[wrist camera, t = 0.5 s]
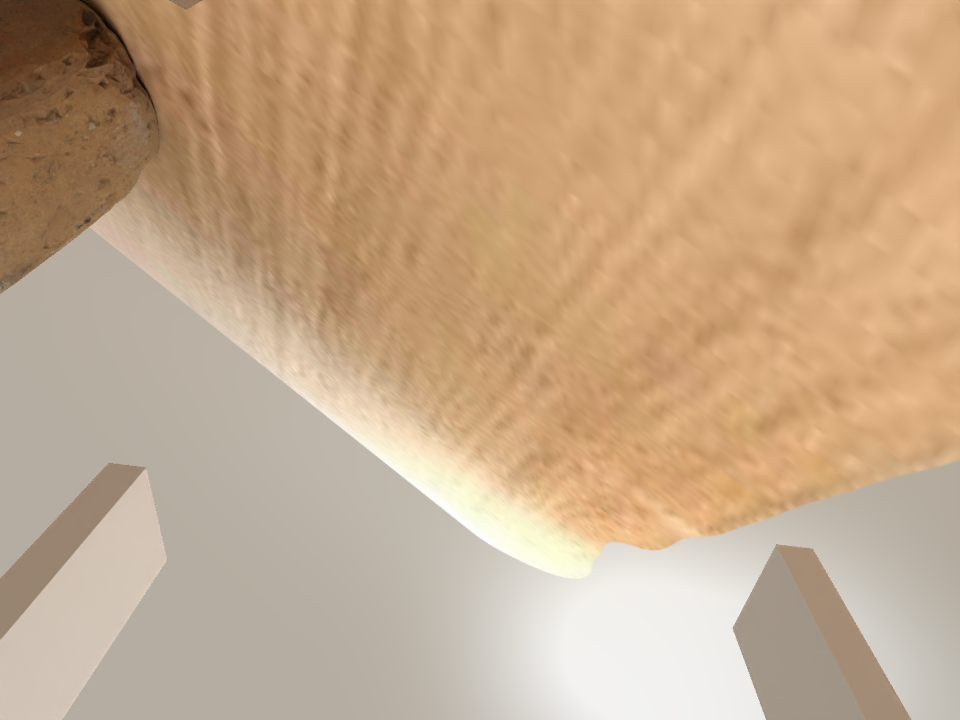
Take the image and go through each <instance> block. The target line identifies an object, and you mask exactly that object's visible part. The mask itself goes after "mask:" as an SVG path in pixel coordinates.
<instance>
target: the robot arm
mask: <svg viewBox="0 0 960 720" xmlns="http://www.w3.org/2000/svg"><path fill="white" fill-rule="evenodd" d="M166 561H167V558H166V553H165V549H164V545H163V540H162V536H161V531H160V527H159V522H158V518H157V514H156V509H155V504H154V500H153V496H152V491H151V487H150V482H149V478H148V473H147V469H146V467H137V466H129V465H121V464H113V463H109V464H108V465H107V466H106V467H105V468H104V469H103V470H102V471H101V472H100V473H99V474H98V475H97V476H96V477H95V478H94V479H93V481H92V482H91V483H90V484H89V485H88V486H87V487H86V488H85V489H84V490H83V491H82V492H81V493H80V495H79V496H77V498H76V499H75V500H74V501H73V502H72V503H71V504H70V505H69V506H68V507H67V508H66V509H65V510H64V511H63V513H62V514H61V515H60V516H59V517H58V518H57V519H56V520H55V521H54V522H53V523H52V524H51V525H50V526H49V527H48V528H47V530H46V531H45V532H44V533H43V534H42V535H41V536H40V537H39V538H38V539H37V540H36V541H35V542H34V543H33V544H32V545H31V547H30V548H29V549H28V550H27V551H26V552H25V553H24V554H23V555H22V556H21V557H20V558H19V559H18V560H17V561H16V563H15V564H14V565H13V566H12V567H11V568H10V569H9V570H8V571H7V572H6V573H5V574H4V575H3V576H2V577H1V578H0V720H62V719H63V717H64V716H65V715H66V713H67V712H68V710H69V708H70V707H71V705H72V704H73V702H74V701H75V699H76V698H77V696H78V695H79V693H80V692H81V690H82V688H83V687H84V686H85V684H86V683H87V681H88V680H89V678H90V677H91V675H92V673H93V672H94V670H95V669H96V667H97V666H98V664H99V663H100V661H101V660H102V658H103V657H104V655H105V654H106V652H107V651H108V649H109V648H110V646H111V644H112V643H113V641H114V640H115V638H116V637H117V635H118V634H119V632H120V631H121V629H122V628H123V626H124V625H125V623H126V622H127V620H128V618H129V617H130V616H131V614H132V612H133V611H134V609H135V608H136V607H137V605H138V603H139V602H140V600H141V599H142V597H143V596H144V594H145V593H146V591H147V590H148V588H149V587H150V585H151V584H152V582H153V581H154V579H155V578H156V576H157V575H158V573H159V571H160V570H161V568H162V567H163V565H164V564H165V562H166ZM733 630H734V633H735V636H736V638H737V641H738V644H739V647H740V649H741V652H742V655H743V658H744V660H745V663H746V666H747V669H748V671H749V674H750V677H751V679H752V682H753V685H754V688H755V690H756V693H757V696H758V699H759V701H760V704H761V707H762V709H763V712H764V715H765V717H766V720H911V718H910V717H909V715H908V713H907V711H906V710H905V708H904V706H903V704H902V703H901V701H900V699H899V698H898V696H897V695H896V692H895V691H894V689H893V687H892V685H891V684H890V682H889V681H888V678H887V677H886V675H885V674H884V672H883V670H882V668H881V667H880V665H879V663H878V661H877V659H876V658H875V656H874V654H873V653H872V651H871V649H870V647H869V646H868V644H867V642H866V640H865V639H864V637H863V635H862V633H861V632H860V630H859V628H858V627H857V625H856V623H855V622H854V620H853V618H852V616H851V614H850V613H849V611H848V609H847V607H846V606H845V604H844V602H843V600H842V599H841V597H840V595H839V594H838V592H837V590H836V588H835V587H834V585H833V583H832V581H831V580H830V578H829V576H828V574H827V573H826V571H825V569H824V568H823V566H822V564H821V563H820V561H819V559H818V557H817V555H816V554H815V552H814V550H813V549H810V548H801V547H792V546H785V545H776V546H775V548H774V550H773V552H772V554H771V556H770V558H769V560H768V562H767V564H766V565H765V567H764V569H763V571H762V573H761V575H760V577H759V579H758V581H757V583H756V585H755V586H754V588H753V590H752V592H751V594H750V596H749V598H748V600H747V602H746V604H745V606H744V608H743V609H742V611H741V613H740V615H739V617H738V619H737V621H736V623H735V625H734V627H733Z"/></svg>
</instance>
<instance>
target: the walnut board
mask: <svg viewBox="0 0 960 720" xmlns="http://www.w3.org/2000/svg"><path fill="white" fill-rule="evenodd" d="M170 1H172V2H174V3H175V4H177V5H179V6H180V7H182V8H184V9H186V10H187V9H188V8H190V7H192V6H193V5H195V4H197V3H198V2H200V1H202V0H170Z"/></svg>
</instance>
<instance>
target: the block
mask: <svg viewBox="0 0 960 720" xmlns="http://www.w3.org/2000/svg"><path fill="white" fill-rule="evenodd" d="M158 150H159V128H158V123H157V118H156V113H155V110H154V108H153V106H152V103H151V100H150V98H149V96H148V94H147V92H146V91H145V90H144V88H143V87H142V86H141V85H140V83H139V82H138V80H137V78H136V70H135V68H134V66H133V64H132V62H131V60H130V58H129V57H128V55H127V52H126V50H125V48H124V47H123V45H122V43H121V42H120V40H119V39H118V37H117V36H116V34H114V33H113V32H112V31H111V30H110V29H108V28H107V27H106V25H105V24H104V23H103V21H102V20H101V19H100V17H99V16H98V15H97V14H96V13H95V11H94V10H92V9H91V8H89V7H88V6H87V5H85V4H84V3H82V2H81V1H80V0H0V293H2V292H4V291H5V290H6V289H8V288H9V287H11V286H12V285H14V284H15V283H16V282H18V281H19V280H20V279H22V278H23V277H24V276H25V275H27V274H28V273H29V272H31V271H32V270H33V269H35V268H36V267H38V266H39V265H40V264H41V263H43V262H44V261H45V260H47V259H48V258H49V257H51V256H52V255H54V254H55V253H56V252H58V251H59V250H61V249H62V248H63V247H64V246H65V245H67V244H68V243H69V242H71V241H72V240H73V239H74V238H76V237H77V236H78V235H80V234H81V233H82V232H83V231H84V230H85V229H87V228H88V227H89V226H91V225H92V224H93V223H94V222H96V221H97V220H98V219H99V218H100V217H101V216H103V215H104V214H105V213H107V212H108V211H109V210H111V208H112V207H113V206H114V205H115V204H116V203H118V202H119V201H121V200H122V199H124V198H125V197H126V196H127V195H128V194H129V193H130V191H131V190H132V188H133V187H134V186H135V184H136V182H137V180H138V178H139V175H140V174H141V172H142V170H143V169H144V167H145V166H146V165H147V164H148V163H150V162H151V161H152V160H154V159H155V157H156V155H157V152H158Z"/></svg>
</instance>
